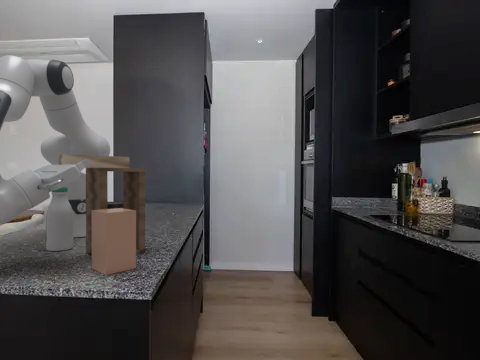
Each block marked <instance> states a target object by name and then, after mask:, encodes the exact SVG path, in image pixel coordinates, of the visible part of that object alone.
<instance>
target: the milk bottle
mask: <svg viewBox="0 0 480 360" xmlns="http://www.w3.org/2000/svg"><path fill="white" fill-rule="evenodd" d="M67 191H68V188H67V187H62V188H59V189H57V190H53V191H51V192H50V193H51V194H50V195H52V196H51V199H50V203H49V204H48V206H47V209H46V212H45V249H46V251H49V252H60V251H68V250H71V249H73V248H74V237H73V211H72V207H71V205H70V203H69V201H68V198H67Z"/></svg>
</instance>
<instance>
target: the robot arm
mask: <svg viewBox="0 0 480 360" xmlns="http://www.w3.org/2000/svg"><path fill="white" fill-rule="evenodd" d="M74 81H75V80H74V74H73V71H72V69H71V68H70V66H69V65H68V64H67V63H66V62H64V61H61V60H57V59H50V60H49V59H40V58H31V59H24V58H23V57H20V56H18V55H11V54H7V55H2V56H0V132H1V130H2V128H3V126H4V123H6V122H7V123H10V122H17V121H19V120H21V119H22V118H23V116H24V114H25V113H26V112H27V110H28V107H29V105H30V102H31V100H32V97H39V100H40V103H41V106H42V109H43V110H44V114H45V117H46V118H47V122H48V124H49V125H50V127H51V128H52V129H53V130H54V131H56V132H57V133H61V134H58V135H51V136H47V137H45V138H44V139H42V142H41V145H40V153H41V155H42V157H43V158H44V160H46V161H47V162H48V163H49V164H48V165H45V166H42V167H40V168H37V169H35V170H31V169H27V170H24V171H22V172H21V173H19V174H16V175H15V176H13V177H10V178H9V179H5V178H4V177H3V176H2V175H1V174H0V226H3V225H5V224H6V223H8V222H11V221H12V220H13V219H15V218H17V217H18V216H19V214H21V213H22V212H25V211H29V210H32V209H33V208H35V207H36V206H38V205H40V204H41V203H43V202H45V201H47V200H49V199H50V198H51V194H50V193H52V192H51V191H53V190H57V189H59V188H62V187H67V188H68V191H67V198H68V201H69V203H70V205H71V207H72V211H73V238H82V237H86V173H85V172H82V171H83V169H86V168H85V167H86V166H88V165H90V162H89V161H88V159H83V160H81V161H79V163H77V164H67V165H59V155H61V154H70V155H94V156H110V154H111V147H110V146H111V145H110V143H109V141H108V140H107V139H106V138H105V137H104V136H102V135H100V134H98V133H97V132H95V131H94V130H93V129H92V128H91V127H90V126H89V125H88V123H86V121H85V120H84V118H83V116H82V112H81V109H80V108H79V105H78V101H77V97H76V96H75V94H74V91H73V87H74V85H75V82H74Z"/></svg>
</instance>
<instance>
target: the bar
mask: <svg viewBox="0 0 480 360" xmlns="http://www.w3.org/2000/svg"><path fill="white" fill-rule="evenodd" d="M83 159H88V161H89V162H90V165H88V166H86V167H85V168H84V169H86V168H131V167H130V156H119V155H118V156H116V155H115V156H114V155H109V156H94V155H70V154H61V155H59V165H67V164H77V163H79V161H81V160H83Z"/></svg>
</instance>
